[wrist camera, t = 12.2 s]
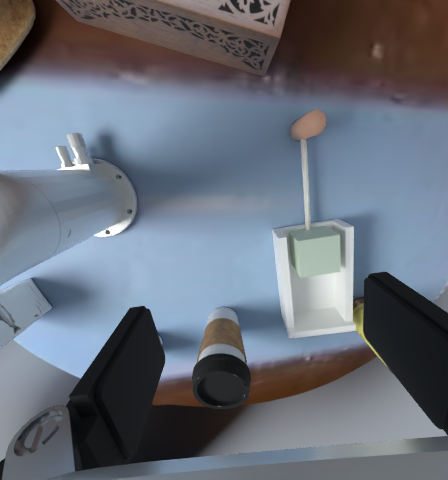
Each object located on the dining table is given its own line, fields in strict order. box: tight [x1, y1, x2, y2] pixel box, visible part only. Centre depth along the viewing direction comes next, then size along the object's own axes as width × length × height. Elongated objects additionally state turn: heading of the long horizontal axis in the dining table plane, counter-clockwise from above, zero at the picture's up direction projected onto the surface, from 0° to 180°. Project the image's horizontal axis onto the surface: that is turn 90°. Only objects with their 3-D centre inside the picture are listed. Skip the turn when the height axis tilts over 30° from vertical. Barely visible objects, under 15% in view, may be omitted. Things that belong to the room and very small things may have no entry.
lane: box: [272, 219, 356, 339], centre depth 37 cm, size 18×11×6 cm, turn 10°
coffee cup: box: [192, 307, 251, 409], centre depth 37 cm, size 8×8×15 cm
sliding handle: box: [289, 110, 340, 278], centre depth 32 cm, size 22×6×6 cm, turn 10°
